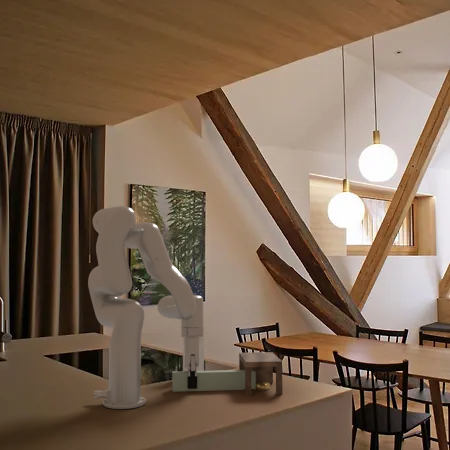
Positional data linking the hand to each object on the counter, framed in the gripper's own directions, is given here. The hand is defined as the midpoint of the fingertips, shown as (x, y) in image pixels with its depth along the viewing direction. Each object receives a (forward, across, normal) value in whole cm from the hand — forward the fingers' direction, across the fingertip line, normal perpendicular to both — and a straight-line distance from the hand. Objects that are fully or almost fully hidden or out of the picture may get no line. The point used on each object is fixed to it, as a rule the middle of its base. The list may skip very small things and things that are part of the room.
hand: (192, 386), depth 178 cm
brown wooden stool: (+1, 0, +23) cm, 23 cm away
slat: (+1, 0, +7) cm, 7 cm away
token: (+1, 0, +24) cm, 24 cm away
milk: (+1, -20, +1) cm, 20 cm away
